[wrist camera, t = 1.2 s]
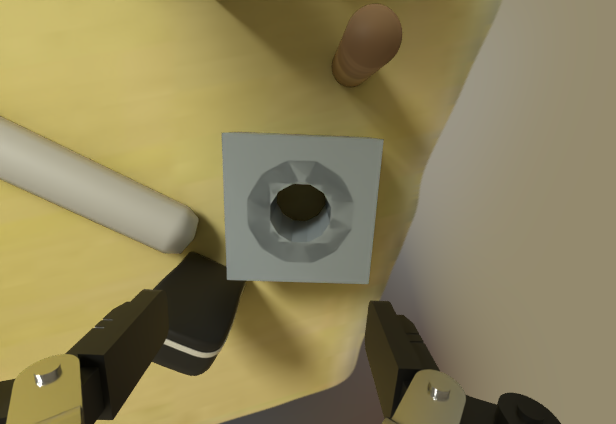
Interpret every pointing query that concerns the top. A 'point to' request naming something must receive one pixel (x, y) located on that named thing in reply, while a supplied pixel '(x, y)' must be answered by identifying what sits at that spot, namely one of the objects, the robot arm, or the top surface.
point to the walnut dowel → (366, 44)
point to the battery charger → (197, 314)
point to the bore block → (292, 233)
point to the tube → (93, 190)
